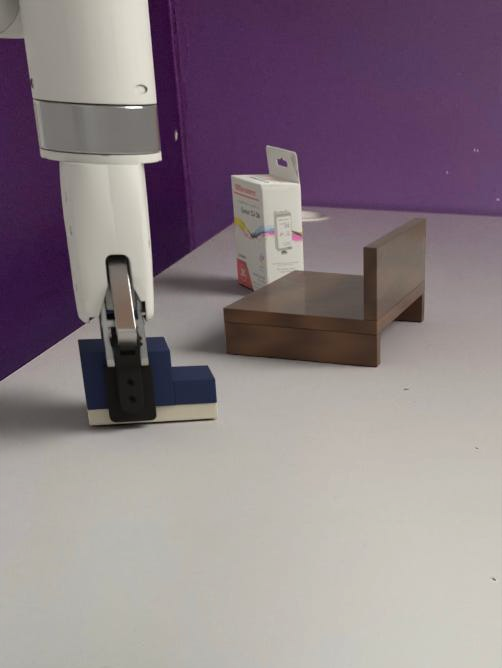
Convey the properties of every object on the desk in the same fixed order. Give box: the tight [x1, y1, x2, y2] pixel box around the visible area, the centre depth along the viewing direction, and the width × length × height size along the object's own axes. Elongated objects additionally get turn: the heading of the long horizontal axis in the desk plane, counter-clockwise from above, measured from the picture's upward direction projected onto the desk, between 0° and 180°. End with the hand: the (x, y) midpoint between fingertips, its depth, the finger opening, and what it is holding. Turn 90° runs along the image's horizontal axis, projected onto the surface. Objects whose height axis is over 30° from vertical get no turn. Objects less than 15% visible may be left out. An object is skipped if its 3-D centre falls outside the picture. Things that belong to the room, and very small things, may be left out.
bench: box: [222, 217, 427, 368], centre depth 99 cm, size 14×20×10 cm
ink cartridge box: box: [230, 144, 305, 292], centre depth 116 cm, size 9×5×15 cm, turn 34°
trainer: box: [77, 336, 219, 426], centre depth 76 cm, size 9×4×5 cm, turn 111°
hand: (130, 407), depth 76 cm, fingers closed on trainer, 4 cm apart
